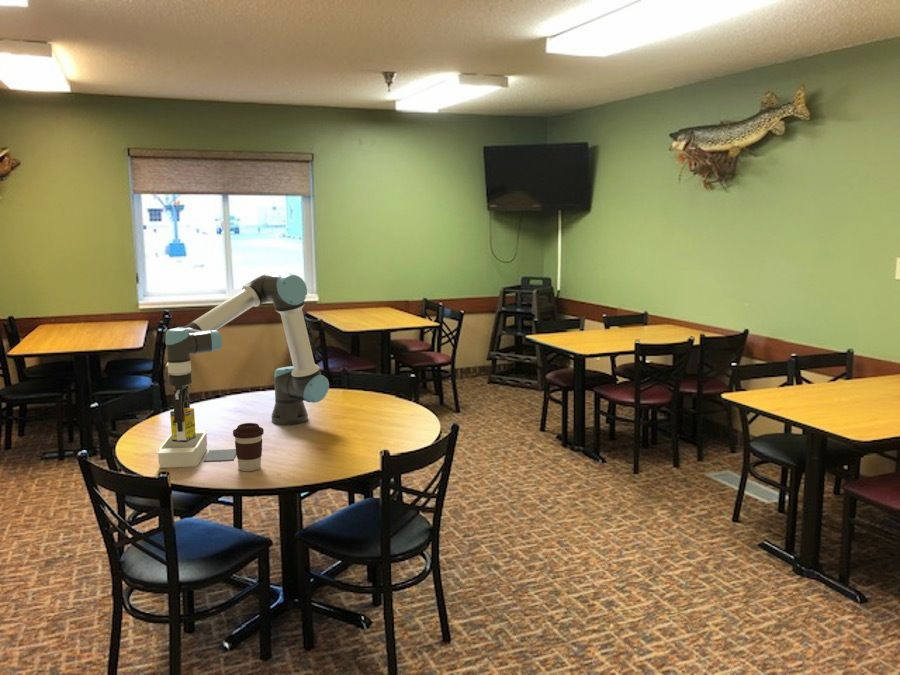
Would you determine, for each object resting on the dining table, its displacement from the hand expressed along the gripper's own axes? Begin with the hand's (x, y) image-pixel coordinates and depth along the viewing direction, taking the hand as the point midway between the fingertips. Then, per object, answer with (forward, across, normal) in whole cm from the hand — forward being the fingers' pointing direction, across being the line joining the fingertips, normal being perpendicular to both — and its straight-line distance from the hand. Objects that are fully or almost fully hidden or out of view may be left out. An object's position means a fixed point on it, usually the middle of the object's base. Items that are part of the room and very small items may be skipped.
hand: (183, 436), depth 245 cm
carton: (+8, 0, 0) cm, 8 cm away
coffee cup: (+8, +14, +24) cm, 29 cm away
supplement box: (+1, 0, 0) cm, 1 cm away
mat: (+8, -1, +12) cm, 15 cm away
